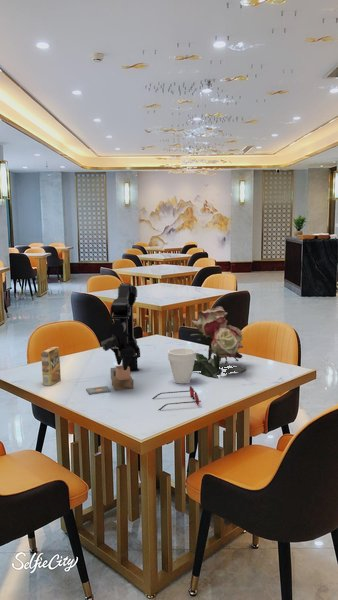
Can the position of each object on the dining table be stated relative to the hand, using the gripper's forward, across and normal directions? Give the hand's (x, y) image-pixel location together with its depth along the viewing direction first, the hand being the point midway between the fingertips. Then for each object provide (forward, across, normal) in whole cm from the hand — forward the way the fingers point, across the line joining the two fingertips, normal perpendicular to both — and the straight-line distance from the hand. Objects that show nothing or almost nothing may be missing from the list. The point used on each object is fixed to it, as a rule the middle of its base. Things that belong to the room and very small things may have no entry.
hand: (121, 367), depth 218 cm
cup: (+9, +4, +26) cm, 28 cm away
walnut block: (+9, 0, 0) cm, 9 cm away
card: (+8, +2, -11) cm, 14 cm away
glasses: (+9, +28, +13) cm, 32 cm away
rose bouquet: (+9, -7, +50) cm, 51 cm away
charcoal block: (+8, -11, +1) cm, 14 cm away
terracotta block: (+5, 0, 0) cm, 5 cm away
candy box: (+9, -18, -27) cm, 34 cm away
